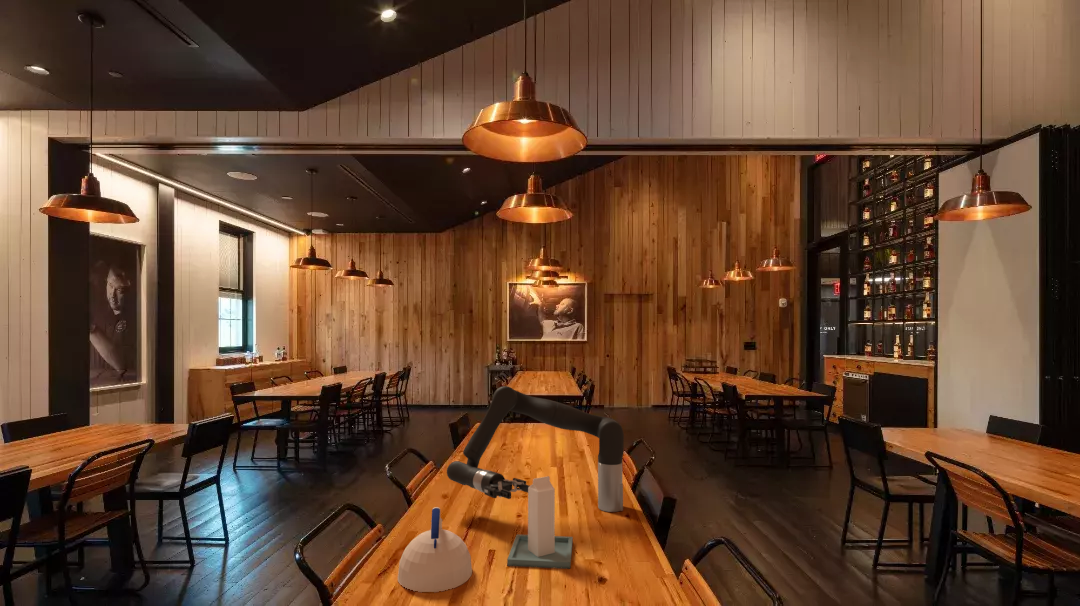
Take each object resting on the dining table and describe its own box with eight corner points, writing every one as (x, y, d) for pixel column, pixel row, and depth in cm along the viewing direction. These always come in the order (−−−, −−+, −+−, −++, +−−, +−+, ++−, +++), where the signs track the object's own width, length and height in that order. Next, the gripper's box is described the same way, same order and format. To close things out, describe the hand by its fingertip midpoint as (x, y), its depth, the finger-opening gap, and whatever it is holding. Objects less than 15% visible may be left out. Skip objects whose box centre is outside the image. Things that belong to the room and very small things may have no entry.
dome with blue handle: (470, 555, 154) (471, 494, 155) (473, 590, 134) (474, 519, 134) (401, 560, 150) (402, 498, 151) (393, 597, 130) (394, 524, 131)
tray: (572, 542, 163) (572, 536, 163) (570, 568, 145) (570, 562, 145) (516, 540, 165) (516, 534, 165) (507, 565, 147) (507, 559, 147)
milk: (554, 553, 154) (555, 478, 155) (537, 557, 151) (538, 481, 152) (544, 545, 159) (544, 473, 160) (527, 549, 156) (528, 476, 157)
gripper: (472, 475, 173) (503, 485, 161) (504, 467, 183) (536, 476, 171) (472, 498, 172) (503, 509, 161) (504, 488, 182) (536, 499, 171)
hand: (520, 492), depth 166 cm, fingers open, 8 cm apart
